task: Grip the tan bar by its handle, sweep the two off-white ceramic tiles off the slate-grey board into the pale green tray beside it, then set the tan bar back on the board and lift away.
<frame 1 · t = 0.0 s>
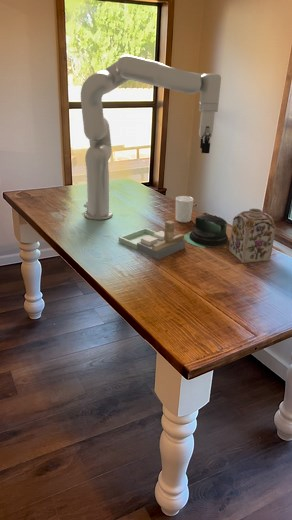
hand: (204, 150, 177), 31 cm above the table, tool pointing down, fingers open, 9 cm apart
dark round cap: (208, 240, 173), on the table
tray: (141, 241, 168), on the table
tile 2: (161, 237, 164), point 3 cm above the table, touching board
tan bar: (168, 244, 158), point 3 cm above the table, touching board
white cup: (182, 220, 192), on the table
board: (160, 249, 161), on the table
tile 1: (149, 242, 160), point 3 cm above the table, touching board
decorative jar: (249, 256, 159), on the table
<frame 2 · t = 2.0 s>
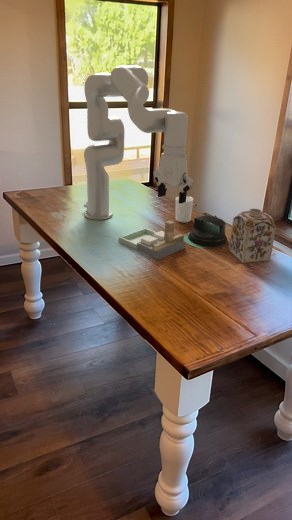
hand: (171, 199, 151), 20 cm above the table, tool pointing down, fingers open, 9 cm apart
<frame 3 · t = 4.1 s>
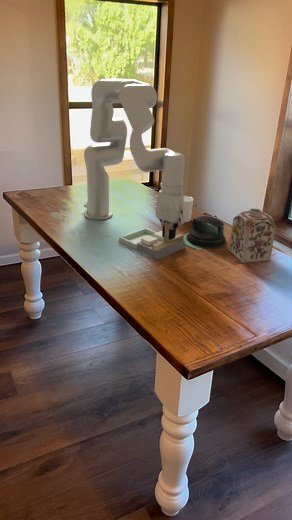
hand: (168, 237, 157), 6 cm above the table, tool pointing down, fingers closed on tan bar, 2 cm apart
dark round cap: (205, 241, 171), on the table
tan bar: (168, 244, 158), point 3 cm above the table, touching gripper
everything else where it was.
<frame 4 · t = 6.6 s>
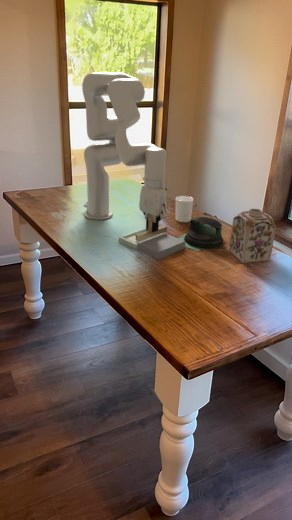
hand: (152, 229, 162), 6 cm above the table, tool pointing down, fingers closed on tan bar, 2 cm apart
dark round cap: (203, 242, 170), on the table
tile 2: (147, 234, 169), point 2 cm above the table, tilted 180°, touching tray
tan bar: (151, 235, 163), point 4 cm above the table, touching gripper
tile 1: (134, 238, 165), point 2 cm above the table, tilted 180°, touching tray
everything else where it was.
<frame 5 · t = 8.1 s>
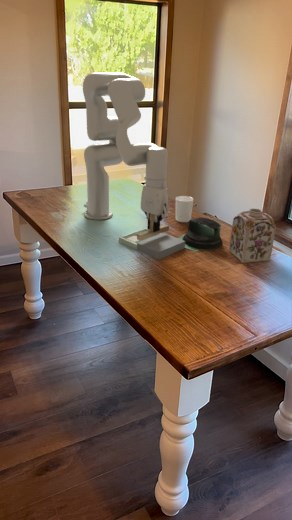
hand: (153, 229, 161), 7 cm above the table, tool pointing down, fingers closed on tan bar, 2 cm apart
tan bar: (153, 234, 162), point 5 cm above the table, touching gripper
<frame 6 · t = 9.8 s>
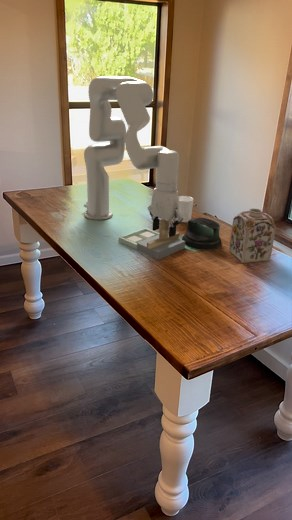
hand: (163, 232, 158), 7 cm above the table, tool pointing down, fingers open, 7 cm apart
dark round cap: (201, 243, 170), on the table, touching board
tan bar: (163, 242, 160), point 3 cm above the table, touching board
everything else where it was.
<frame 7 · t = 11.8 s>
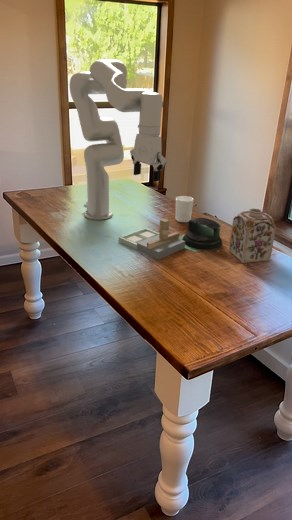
hand: (146, 177, 157), 25 cm above the table, tool pointing down, fingers open, 9 cm apart
dark round cap: (201, 243, 169), on the table
everything else where it was.
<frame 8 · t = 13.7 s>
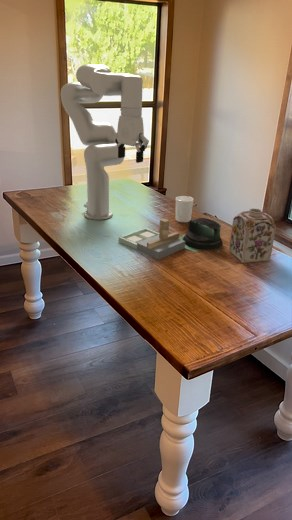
hand: (130, 159, 161), 30 cm above the table, tool pointing down, fingers open, 9 cm apart
nothing on the table moved.
at the end: tile 2 inside the target area on the tray (3.5 cm from its centre), point 1.9 cm above the tray's base; tile 1 inside the target area on the tray (3.5 cm from its centre), point 1.9 cm above the tray's base; the gripper is holding nothing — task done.
